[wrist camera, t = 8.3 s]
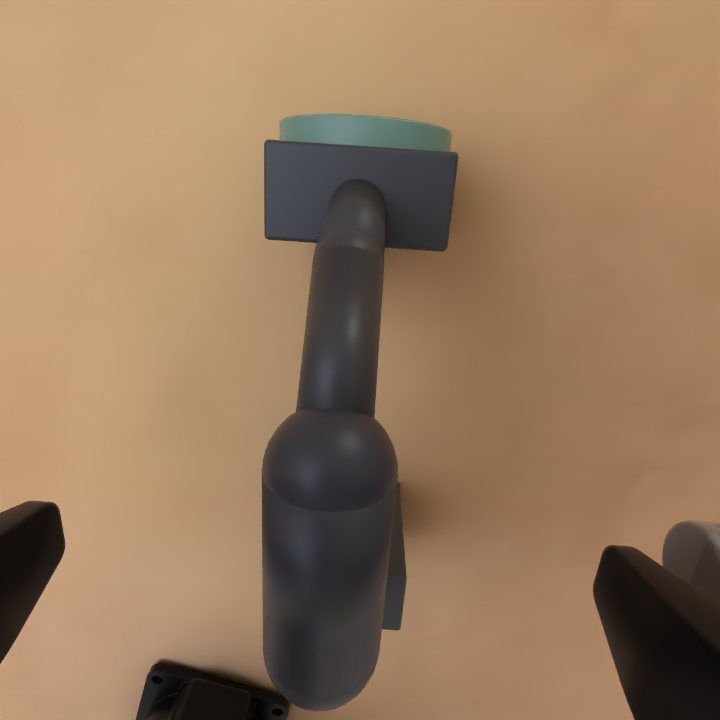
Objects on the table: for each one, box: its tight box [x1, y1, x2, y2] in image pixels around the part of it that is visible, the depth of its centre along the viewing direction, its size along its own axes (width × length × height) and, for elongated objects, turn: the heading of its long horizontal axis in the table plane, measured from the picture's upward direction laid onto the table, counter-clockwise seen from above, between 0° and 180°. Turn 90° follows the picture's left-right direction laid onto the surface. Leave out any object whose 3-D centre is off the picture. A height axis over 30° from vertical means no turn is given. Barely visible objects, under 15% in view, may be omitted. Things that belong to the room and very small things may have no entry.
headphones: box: [262, 114, 458, 711], centre depth 11 cm, size 4×14×10 cm, turn 176°
